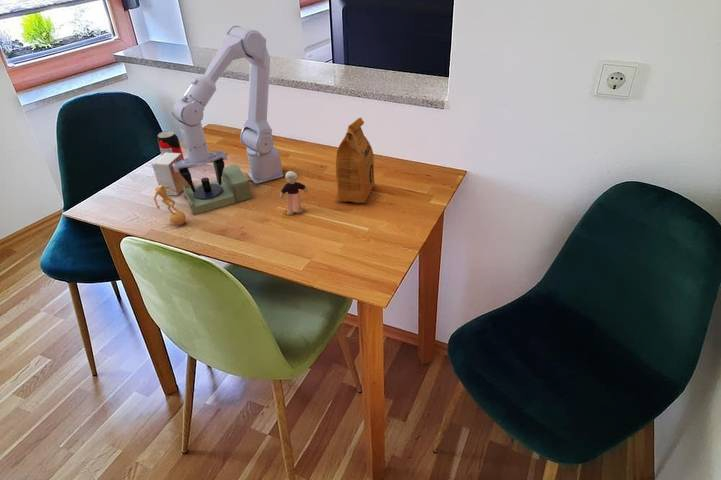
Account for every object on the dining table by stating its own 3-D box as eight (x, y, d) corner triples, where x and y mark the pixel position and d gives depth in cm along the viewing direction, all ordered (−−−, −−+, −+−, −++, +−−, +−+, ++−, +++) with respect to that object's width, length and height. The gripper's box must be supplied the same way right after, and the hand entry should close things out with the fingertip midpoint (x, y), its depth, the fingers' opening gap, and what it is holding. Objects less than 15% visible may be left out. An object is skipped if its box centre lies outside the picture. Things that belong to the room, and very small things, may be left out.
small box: (177, 196, 145) (168, 164, 138) (161, 195, 146) (150, 163, 139) (190, 183, 151) (181, 152, 145) (174, 182, 152) (165, 151, 146)
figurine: (176, 233, 129) (163, 194, 121) (157, 230, 130) (144, 191, 123) (194, 217, 135) (183, 179, 128) (176, 214, 137) (164, 176, 129)
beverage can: (189, 165, 161) (180, 132, 154) (174, 173, 157) (164, 139, 150) (177, 161, 164) (167, 128, 157) (162, 169, 159) (151, 135, 152)
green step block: (239, 181, 151) (236, 164, 147) (251, 198, 142) (248, 180, 139) (185, 196, 145) (180, 178, 141) (194, 214, 136) (189, 196, 132)
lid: (218, 182, 146) (215, 169, 143) (226, 194, 140) (223, 181, 137) (190, 190, 142) (186, 177, 140) (197, 202, 136) (193, 189, 134)
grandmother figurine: (286, 218, 132) (279, 178, 125) (281, 212, 135) (274, 172, 128) (311, 210, 135) (307, 170, 128) (306, 204, 138) (301, 165, 131)
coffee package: (380, 186, 145) (378, 117, 132) (365, 207, 135) (362, 135, 122) (349, 182, 148) (345, 113, 135) (333, 202, 138) (327, 130, 126)
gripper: (171, 155, 126) (184, 200, 134) (225, 143, 132) (234, 186, 140) (166, 146, 131) (179, 189, 139) (218, 134, 137) (228, 176, 145)
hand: (206, 187), depth 140 cm, fingers open, 7 cm apart
